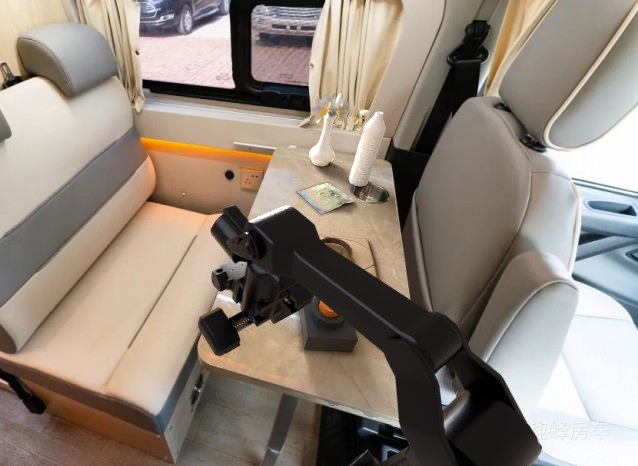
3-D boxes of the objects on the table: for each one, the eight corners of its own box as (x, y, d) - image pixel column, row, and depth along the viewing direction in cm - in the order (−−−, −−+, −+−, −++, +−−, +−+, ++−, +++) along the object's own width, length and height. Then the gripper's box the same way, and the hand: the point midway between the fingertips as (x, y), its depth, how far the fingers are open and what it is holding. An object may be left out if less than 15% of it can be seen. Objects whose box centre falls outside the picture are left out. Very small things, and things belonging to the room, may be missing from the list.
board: (368, 240, 94) (372, 232, 92) (379, 281, 83) (383, 273, 80) (280, 232, 97) (282, 224, 94) (279, 271, 85) (281, 262, 83)
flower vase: (338, 153, 132) (355, 89, 115) (334, 176, 119) (351, 107, 103) (306, 148, 136) (317, 85, 119) (298, 170, 123) (309, 102, 106)
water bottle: (366, 178, 118) (389, 109, 102) (368, 187, 114) (392, 117, 97) (341, 175, 120) (360, 106, 103) (342, 184, 115) (361, 114, 99)
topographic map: (328, 182, 116) (329, 178, 115) (355, 202, 107) (356, 198, 106) (296, 193, 113) (297, 189, 112) (321, 214, 103) (321, 210, 102)
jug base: (351, 352, 69) (361, 334, 64) (303, 349, 69) (309, 331, 64) (340, 305, 77) (347, 286, 73) (297, 302, 78) (302, 284, 73)
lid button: (342, 318, 67) (344, 312, 66) (320, 317, 67) (322, 311, 66) (338, 300, 70) (340, 294, 69) (317, 299, 71) (319, 293, 69)
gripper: (279, 224, 55) (266, 279, 66) (178, 269, 47) (183, 322, 59) (327, 270, 48) (303, 323, 59) (219, 331, 41) (215, 377, 52)
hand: (252, 333), depth 58 cm, fingers open, 9 cm apart
